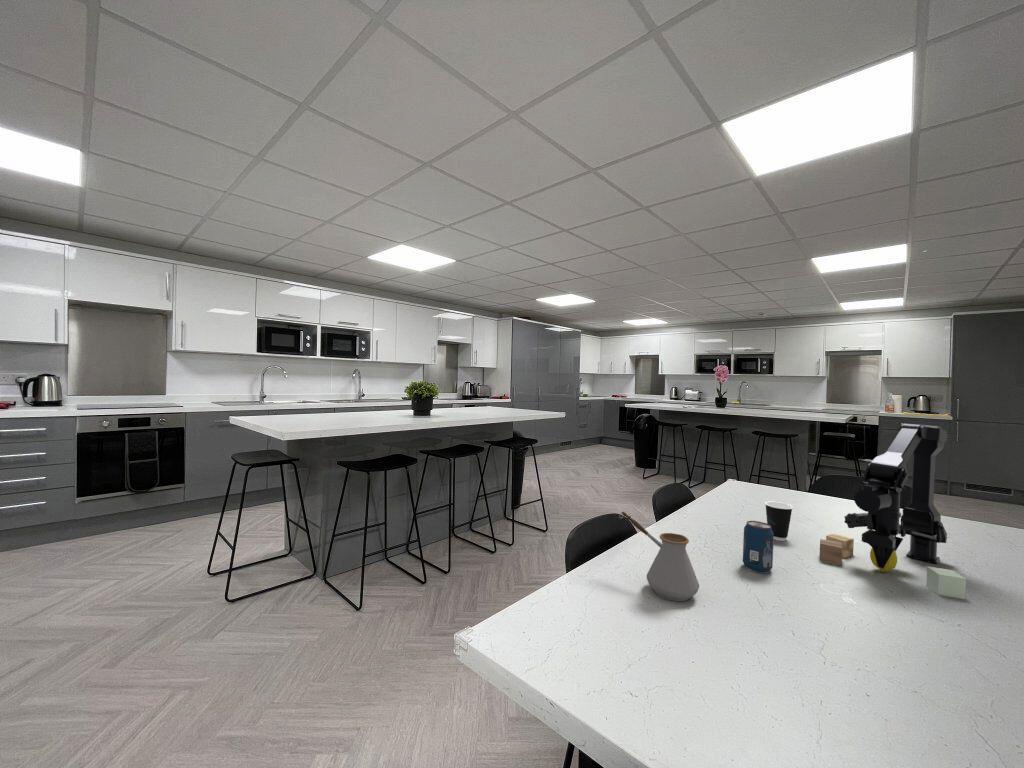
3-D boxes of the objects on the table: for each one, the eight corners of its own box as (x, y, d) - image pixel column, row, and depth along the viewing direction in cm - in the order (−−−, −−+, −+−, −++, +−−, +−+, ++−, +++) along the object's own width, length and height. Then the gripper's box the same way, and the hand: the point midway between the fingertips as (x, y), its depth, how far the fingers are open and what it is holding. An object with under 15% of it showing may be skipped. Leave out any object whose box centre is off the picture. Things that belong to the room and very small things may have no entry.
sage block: (926, 585, 106) (927, 566, 106) (952, 590, 104) (952, 570, 104) (937, 594, 102) (938, 574, 102) (965, 599, 100) (965, 578, 100)
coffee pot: (708, 596, 96) (711, 531, 96) (680, 611, 89) (683, 541, 89) (632, 562, 113) (634, 507, 113) (603, 572, 106) (606, 514, 106)
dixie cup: (794, 538, 137) (795, 505, 137) (788, 544, 132) (789, 509, 132) (767, 532, 143) (768, 500, 143) (760, 537, 137) (761, 503, 137)
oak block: (833, 549, 129) (834, 533, 129) (853, 555, 125) (853, 538, 125) (825, 551, 127) (826, 535, 127) (845, 558, 123) (845, 541, 123)
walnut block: (819, 555, 124) (820, 538, 124) (840, 560, 121) (841, 543, 121) (819, 560, 120) (820, 543, 120) (841, 565, 117) (842, 548, 117)
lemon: (902, 577, 110) (903, 547, 110) (877, 574, 112) (879, 545, 112) (887, 568, 116) (888, 540, 116) (864, 566, 117) (865, 537, 117)
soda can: (747, 560, 117) (748, 518, 117) (775, 569, 112) (777, 524, 113) (738, 567, 113) (740, 523, 113) (768, 577, 108) (769, 530, 108)
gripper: (856, 496, 126) (854, 548, 126) (838, 505, 114) (836, 562, 114) (907, 505, 117) (905, 561, 117) (893, 516, 105) (891, 578, 105)
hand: (883, 565), depth 114 cm, fingers closed on lemon, 5 cm apart
